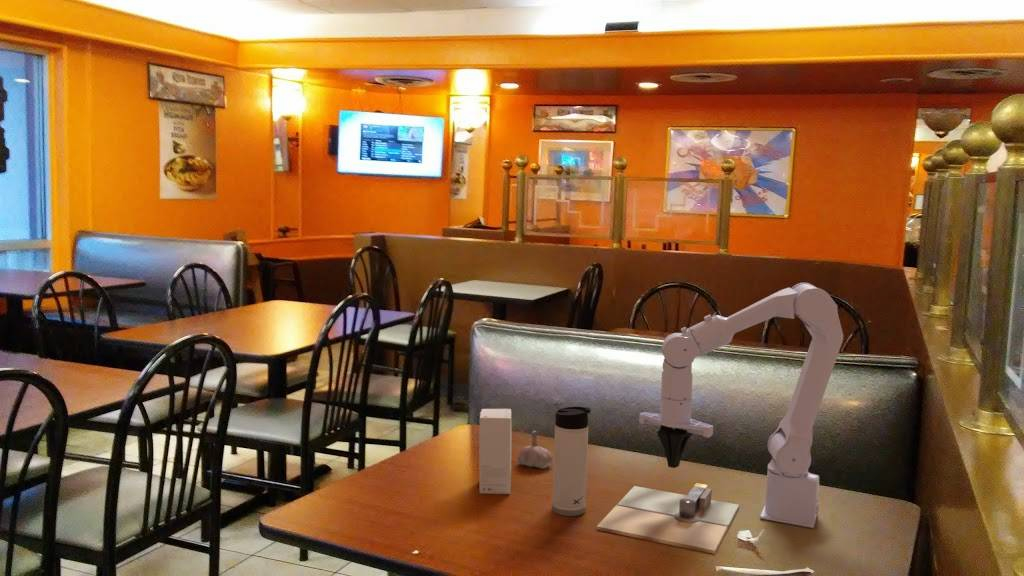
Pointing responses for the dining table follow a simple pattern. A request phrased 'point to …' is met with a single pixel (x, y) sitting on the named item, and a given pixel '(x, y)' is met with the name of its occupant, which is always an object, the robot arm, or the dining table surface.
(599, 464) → the dining table surface
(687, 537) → the door board
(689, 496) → the bar
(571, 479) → the travel mug
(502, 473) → the skincare box
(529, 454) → the garlic bulb
